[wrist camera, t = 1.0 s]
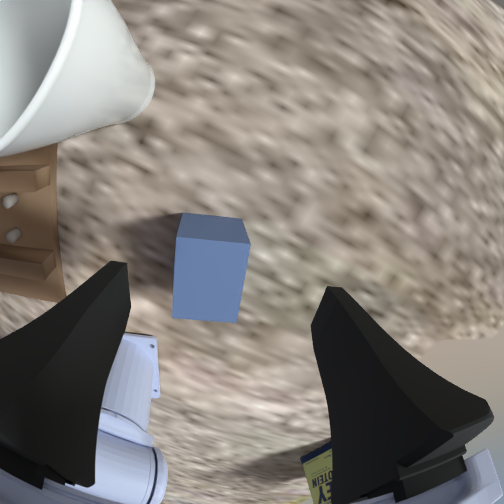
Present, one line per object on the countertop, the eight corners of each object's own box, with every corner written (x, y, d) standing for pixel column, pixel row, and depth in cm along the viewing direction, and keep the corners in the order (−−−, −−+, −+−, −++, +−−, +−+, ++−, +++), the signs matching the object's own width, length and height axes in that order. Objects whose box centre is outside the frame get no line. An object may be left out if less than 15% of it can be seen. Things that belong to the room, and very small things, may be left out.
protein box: (346, 430, 40) (377, 505, 26) (380, 442, 46) (407, 499, 32) (298, 457, 42) (319, 529, 28) (339, 465, 48) (360, 521, 34)
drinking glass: (92, 46, 15) (-40, -18, 1) (176, 50, 16) (124, -71, 3) (73, 130, 17) (-84, 167, 4) (155, 139, 19) (48, 174, 5)
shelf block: (230, 286, 25) (236, 322, 20) (177, 281, 24) (172, 317, 19) (241, 218, 22) (250, 244, 18) (182, 212, 21) (176, 236, 17)
